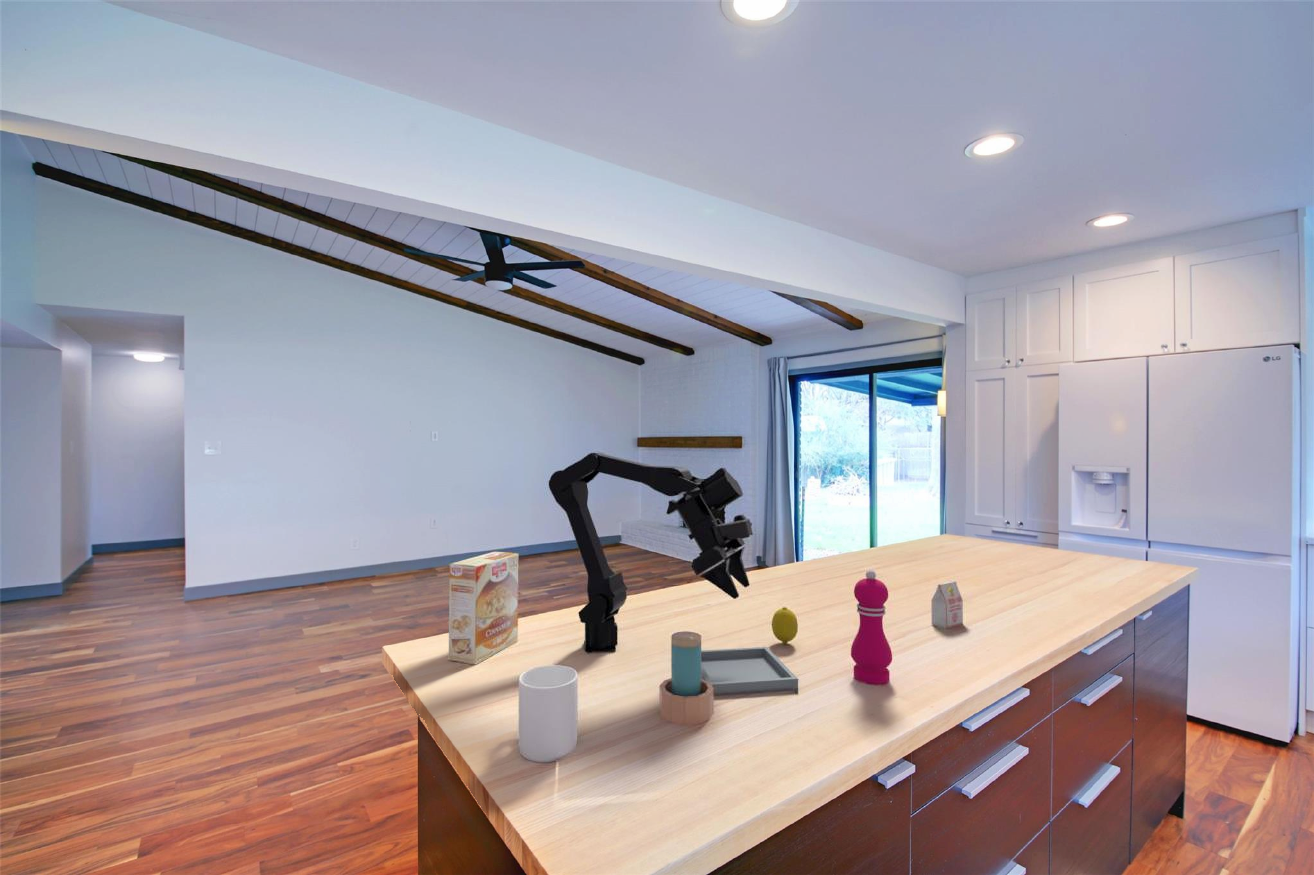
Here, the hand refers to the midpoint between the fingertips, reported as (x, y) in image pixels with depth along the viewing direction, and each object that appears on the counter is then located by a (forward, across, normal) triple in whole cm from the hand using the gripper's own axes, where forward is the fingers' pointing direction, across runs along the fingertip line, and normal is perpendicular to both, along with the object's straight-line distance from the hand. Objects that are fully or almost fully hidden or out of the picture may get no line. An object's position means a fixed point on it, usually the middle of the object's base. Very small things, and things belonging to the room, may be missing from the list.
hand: (742, 591), depth 111 cm
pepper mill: (+25, +4, -11) cm, 28 cm away
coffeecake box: (-16, -10, +52) cm, 56 cm away
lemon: (+16, +17, +4) cm, 23 cm away
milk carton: (+34, +45, -25) cm, 62 cm away
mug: (+1, -38, +26) cm, 46 cm away
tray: (+13, -5, +8) cm, 15 cm away
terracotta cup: (+10, -22, +11) cm, 27 cm away
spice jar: (+10, -22, +11) cm, 27 cm away
